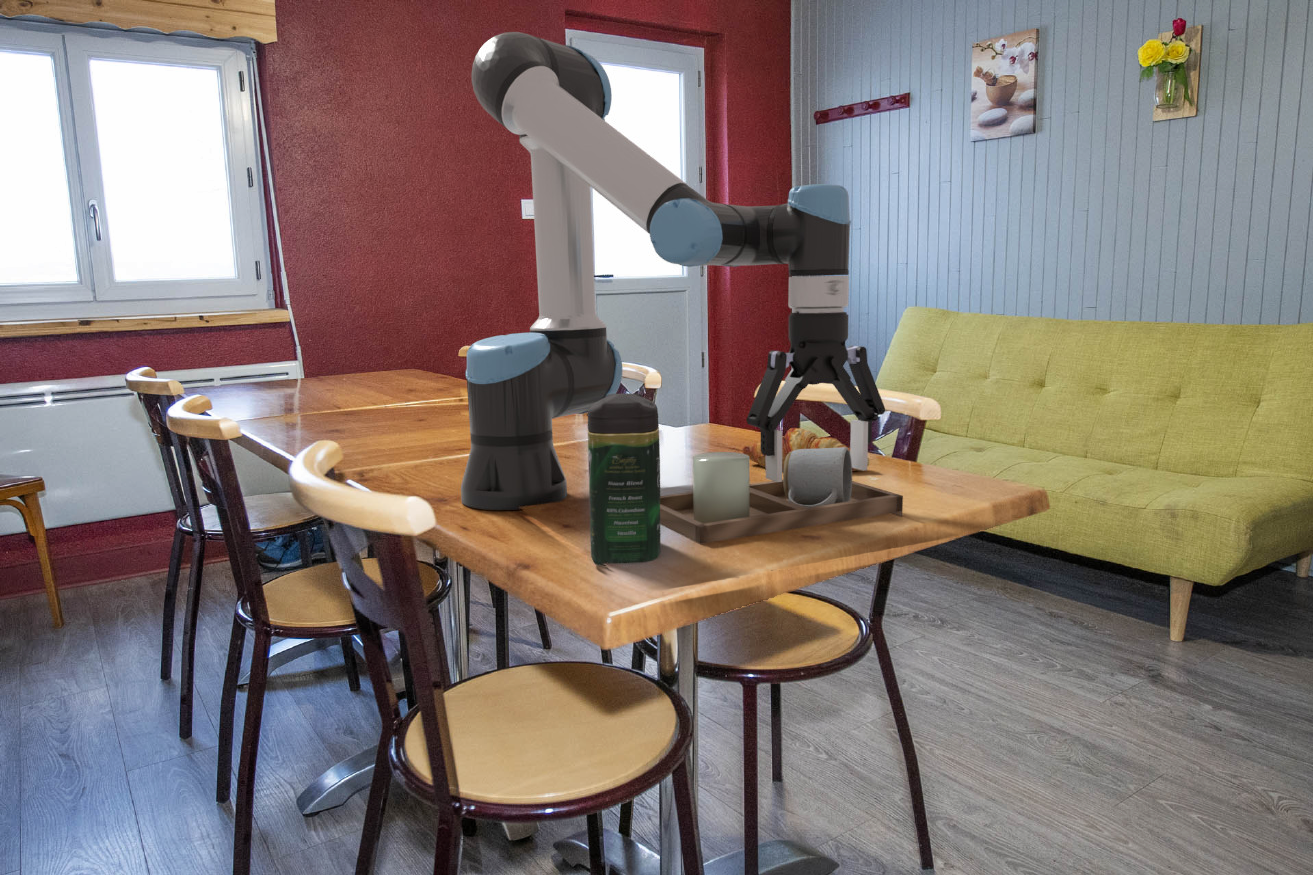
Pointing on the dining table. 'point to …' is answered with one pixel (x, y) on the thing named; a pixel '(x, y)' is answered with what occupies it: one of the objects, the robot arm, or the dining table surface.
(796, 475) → the ceramic mug
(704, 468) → the pale green pillar candle
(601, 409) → the coffee jar
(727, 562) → the dining table surface
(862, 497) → the caddy
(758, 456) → the croissant
